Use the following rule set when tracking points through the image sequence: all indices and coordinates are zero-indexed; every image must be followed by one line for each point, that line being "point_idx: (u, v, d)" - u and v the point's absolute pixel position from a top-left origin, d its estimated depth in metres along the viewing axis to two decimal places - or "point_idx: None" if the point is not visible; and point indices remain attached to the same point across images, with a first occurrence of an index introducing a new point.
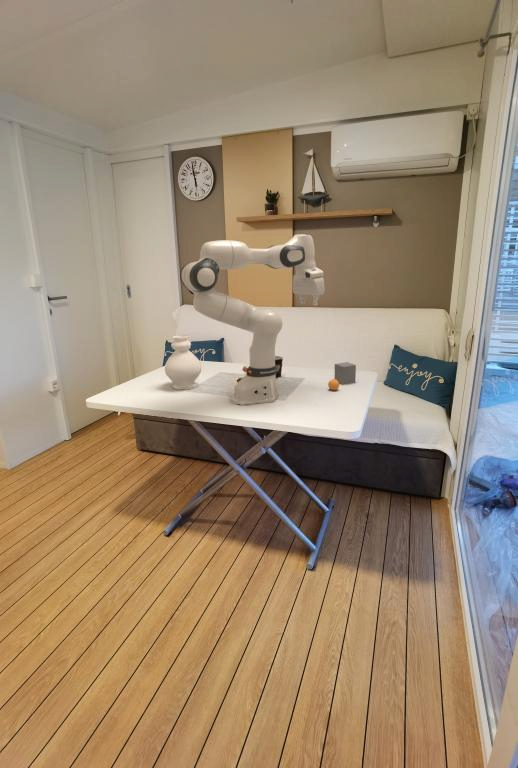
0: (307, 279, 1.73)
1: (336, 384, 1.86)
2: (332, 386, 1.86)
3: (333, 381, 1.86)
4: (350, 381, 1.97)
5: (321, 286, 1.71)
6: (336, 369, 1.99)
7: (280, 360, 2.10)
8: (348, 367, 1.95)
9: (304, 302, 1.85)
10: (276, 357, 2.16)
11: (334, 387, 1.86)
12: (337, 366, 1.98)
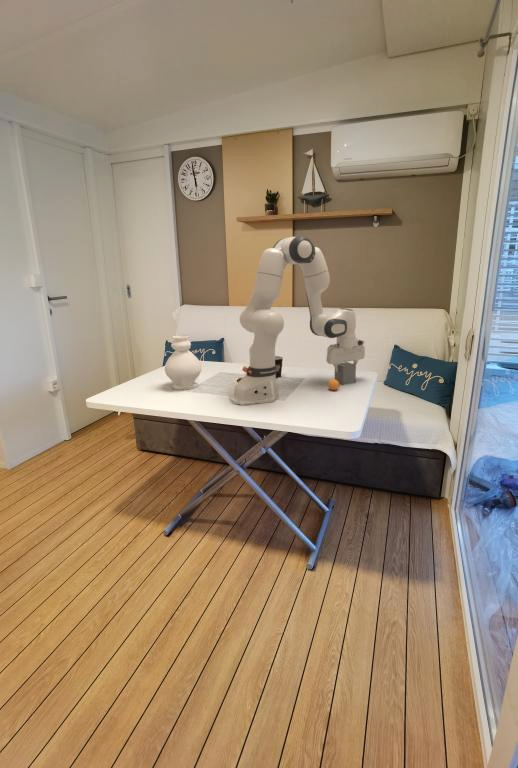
0: (357, 346, 1.95)
1: (336, 384, 1.86)
2: (332, 386, 1.86)
3: (333, 381, 1.86)
4: (350, 381, 1.97)
5: None
6: None
7: (280, 360, 2.10)
8: (348, 367, 1.95)
9: None
10: (276, 357, 2.16)
11: (334, 387, 1.86)
12: (337, 366, 1.98)
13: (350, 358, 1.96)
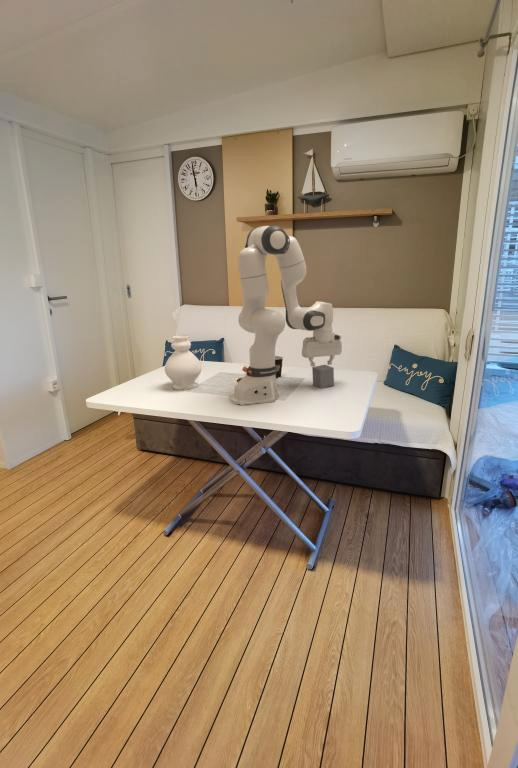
0: (334, 341, 1.90)
1: None
2: None
3: None
4: (328, 384, 1.93)
5: None
6: (314, 372, 1.95)
7: (280, 360, 2.10)
8: (325, 370, 1.90)
9: None
10: (276, 357, 2.16)
11: None
12: (314, 369, 1.94)
13: (326, 353, 1.91)
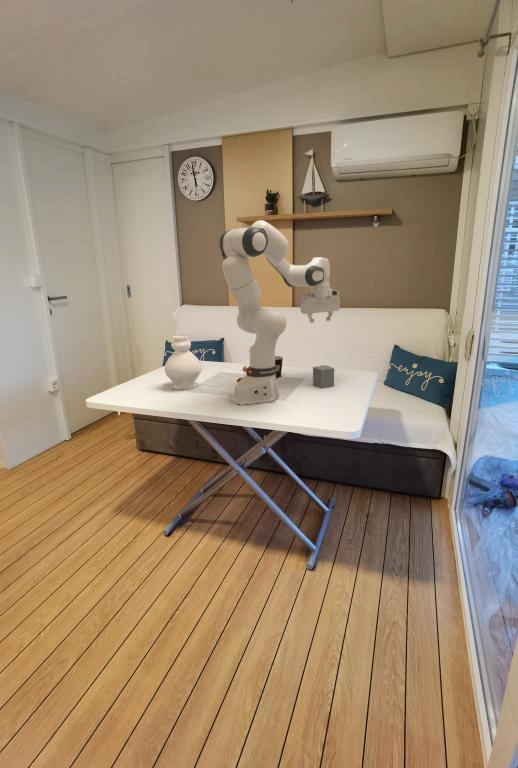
0: (331, 297, 1.94)
1: None
2: None
3: None
4: (328, 384, 1.93)
5: None
6: (314, 372, 1.95)
7: (280, 360, 2.10)
8: (326, 370, 1.91)
9: None
10: (276, 357, 2.16)
11: None
12: (315, 369, 1.94)
13: (324, 309, 1.95)
